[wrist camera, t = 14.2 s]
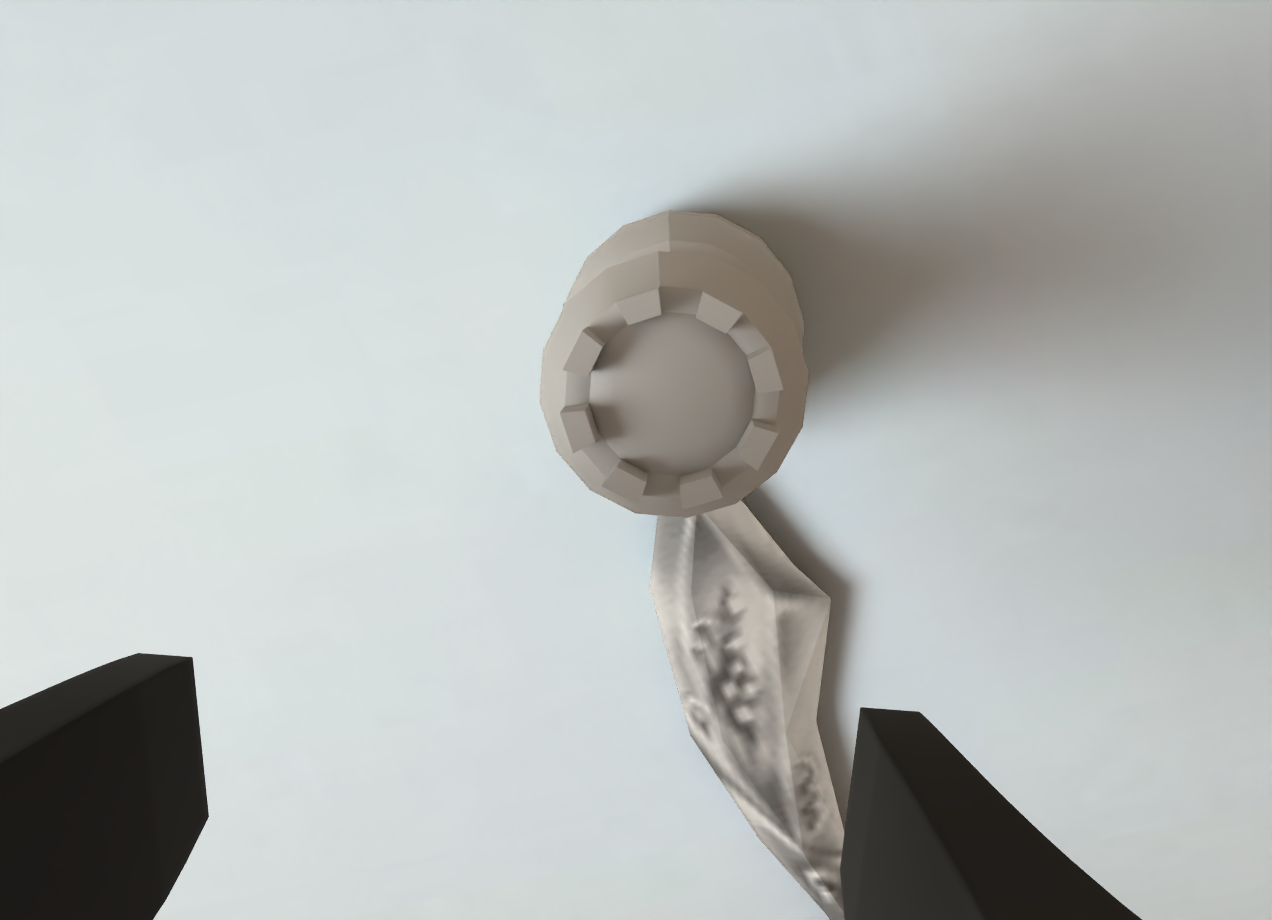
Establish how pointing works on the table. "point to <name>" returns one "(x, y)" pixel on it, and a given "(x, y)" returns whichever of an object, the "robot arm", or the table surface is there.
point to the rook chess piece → (677, 366)
